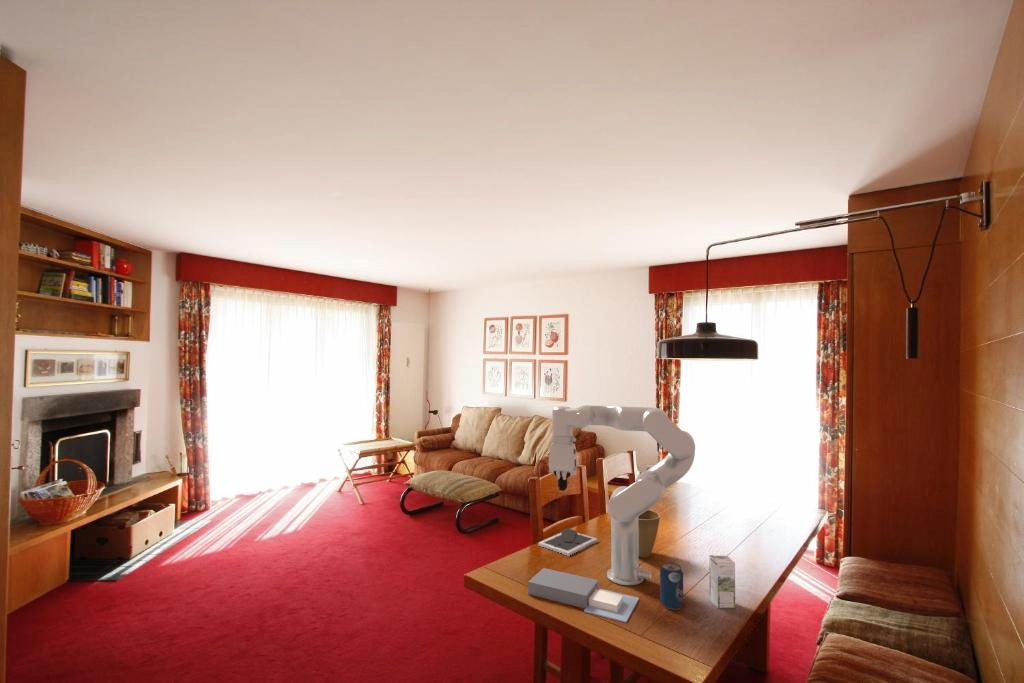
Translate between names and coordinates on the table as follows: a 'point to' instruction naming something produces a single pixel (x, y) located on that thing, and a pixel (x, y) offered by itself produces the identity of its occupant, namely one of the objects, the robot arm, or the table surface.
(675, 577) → the soda can
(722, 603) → the syrup box
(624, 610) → the mat
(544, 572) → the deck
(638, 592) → the table surface
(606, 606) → the white flat block
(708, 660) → the table surface
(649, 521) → the plant pot
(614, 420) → the robot arm
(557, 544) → the picture frame
